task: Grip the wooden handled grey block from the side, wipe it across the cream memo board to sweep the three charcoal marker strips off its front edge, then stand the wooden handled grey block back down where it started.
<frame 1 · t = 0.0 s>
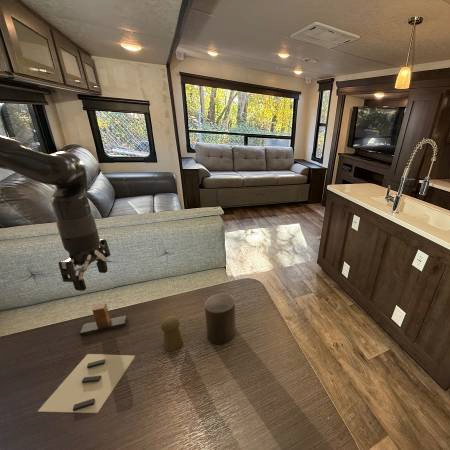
hand: (93, 280, 72), 23 cm above the table, tool pointing down, fingers open, 8 cm apart
pillar candle: (221, 333, 87), on the table
memo board: (93, 383, 68), on the table
mark 3: (84, 405, 62), point 1 cm above the table, touching memo board
mark 2: (92, 380, 67), point 1 cm above the table, touching memo board
wooden handled grey block: (105, 329, 84), on the table
cork: (173, 346, 81), on the table
mark 1: (96, 364, 71), point 1 cm above the table, touching memo board
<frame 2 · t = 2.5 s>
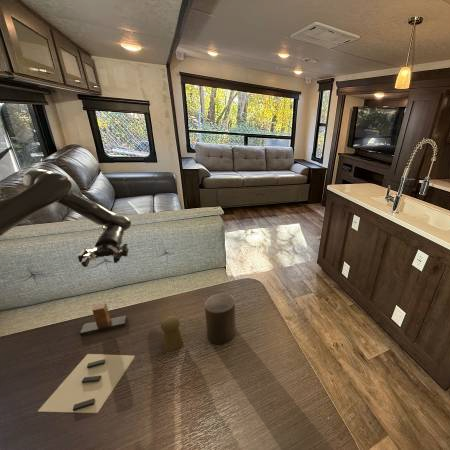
hand: (100, 262, 85), 20 cm above the table, tool horizontal, fingers open, 8 cm apart
nothing on the table moved.
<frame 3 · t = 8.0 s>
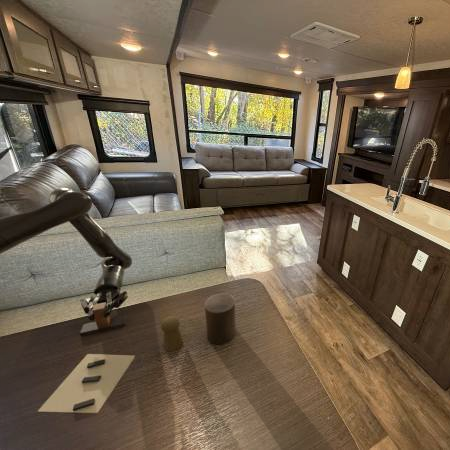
hand: (98, 317, 79), 8 cm above the table, tool horizontal, fingers closed on wooden handled grey block, 3 cm apart
wooden handled grey block: (105, 329, 84), on the table, touching gripper
everything else where it was.
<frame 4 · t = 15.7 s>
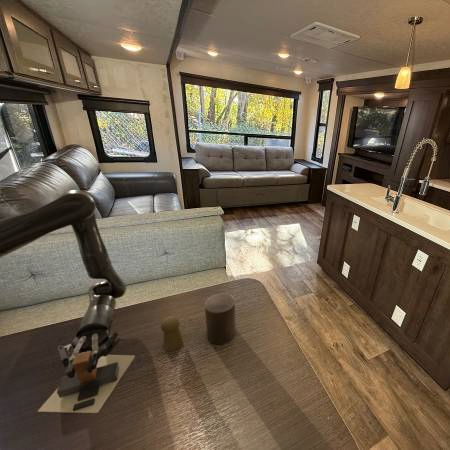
hand: (80, 372, 61), 10 cm above the table, tool horizontal, fingers closed on wooden handled grey block, 3 cm apart
mark 2: (88, 396, 64), point 1 cm above the table, touching mark 1, memo board
wooden handled grey block: (91, 381, 66), point 2 cm above the table, touching gripper, mark 1
mark 1: (89, 391, 64), point 1 cm above the table, touching wooden handled grey block, mark 2
everything else where it was.
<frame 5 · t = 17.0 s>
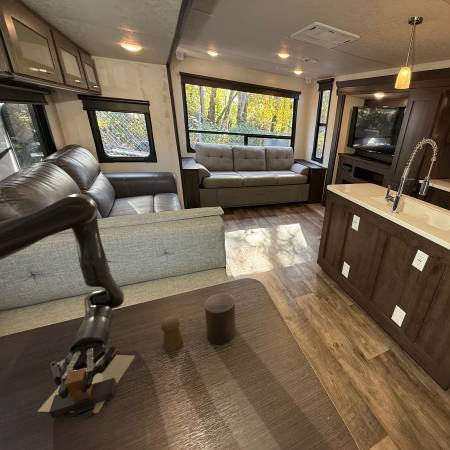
hand: (73, 392, 56), 10 cm above the table, tool horizontal, fingers closed on wooden handled grey block, 3 cm apart
mark 3: (79, 425, 58), point 1 cm above the table, tilted 180°
mark 2: (84, 415, 60), point 1 cm above the table, tilted 44°
wooden handled grey block: (86, 399, 62), point 2 cm above the table, tilted 5°, touching gripper
mark 1: (84, 410, 60), point 1 cm above the table
everything else where it was.
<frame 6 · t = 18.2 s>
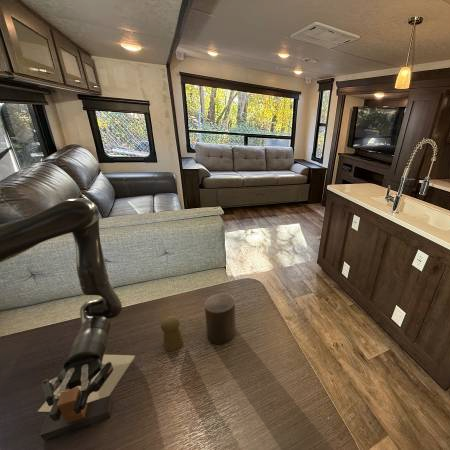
hand: (66, 414, 52), 9 cm above the table, tool horizontal, fingers closed on wooden handled grey block, 3 cm apart
mark 3: (77, 435, 56), point 1 cm above the table, tilted 180°
mark 2: (81, 428, 58), point 1 cm above the table, tilted 90°
wooden handled grey block: (80, 419, 59), point 2 cm above the table, tilted 5°, touching gripper
mark 1: (82, 427, 58), on the table
everything else where it was.
when the fingers open (8 cm above the table, at t = 28.4 s): wooden handled grey block stays where it is, on the table.
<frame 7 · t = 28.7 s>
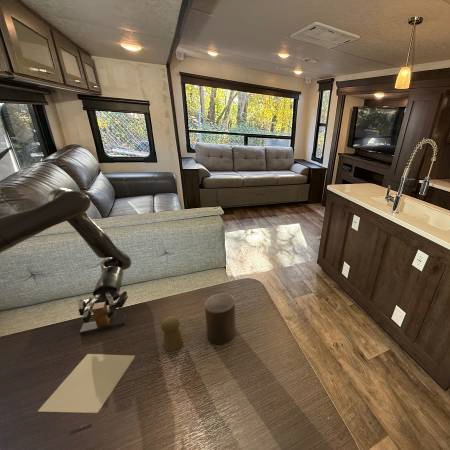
hand: (97, 317, 79), 8 cm above the table, tool horizontal, fingers open, 5 cm apart
wooden handled grey block: (105, 328, 84), on the table
everything else where it was.
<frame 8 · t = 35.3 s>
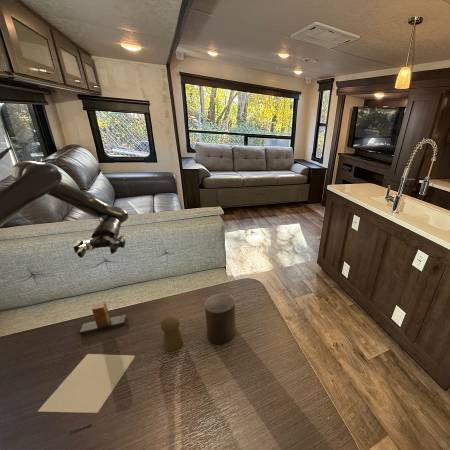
hand: (96, 253, 83), 24 cm above the table, tool horizontal, fingers open, 8 cm apart
nothing on the table moved.
at the end: mark 1 on the table; mark 2 point 0.6 cm above the table; mark 3 point 0.8 cm above the table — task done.
